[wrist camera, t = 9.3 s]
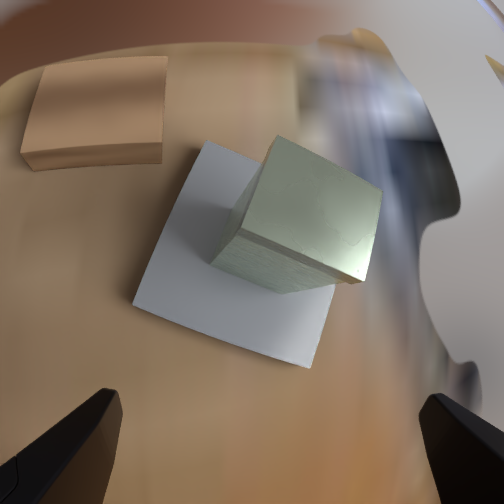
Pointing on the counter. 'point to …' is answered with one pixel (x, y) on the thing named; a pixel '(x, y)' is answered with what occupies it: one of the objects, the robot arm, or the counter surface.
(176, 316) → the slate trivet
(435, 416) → the robot arm
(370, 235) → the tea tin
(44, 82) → the tan flat block
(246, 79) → the counter surface
